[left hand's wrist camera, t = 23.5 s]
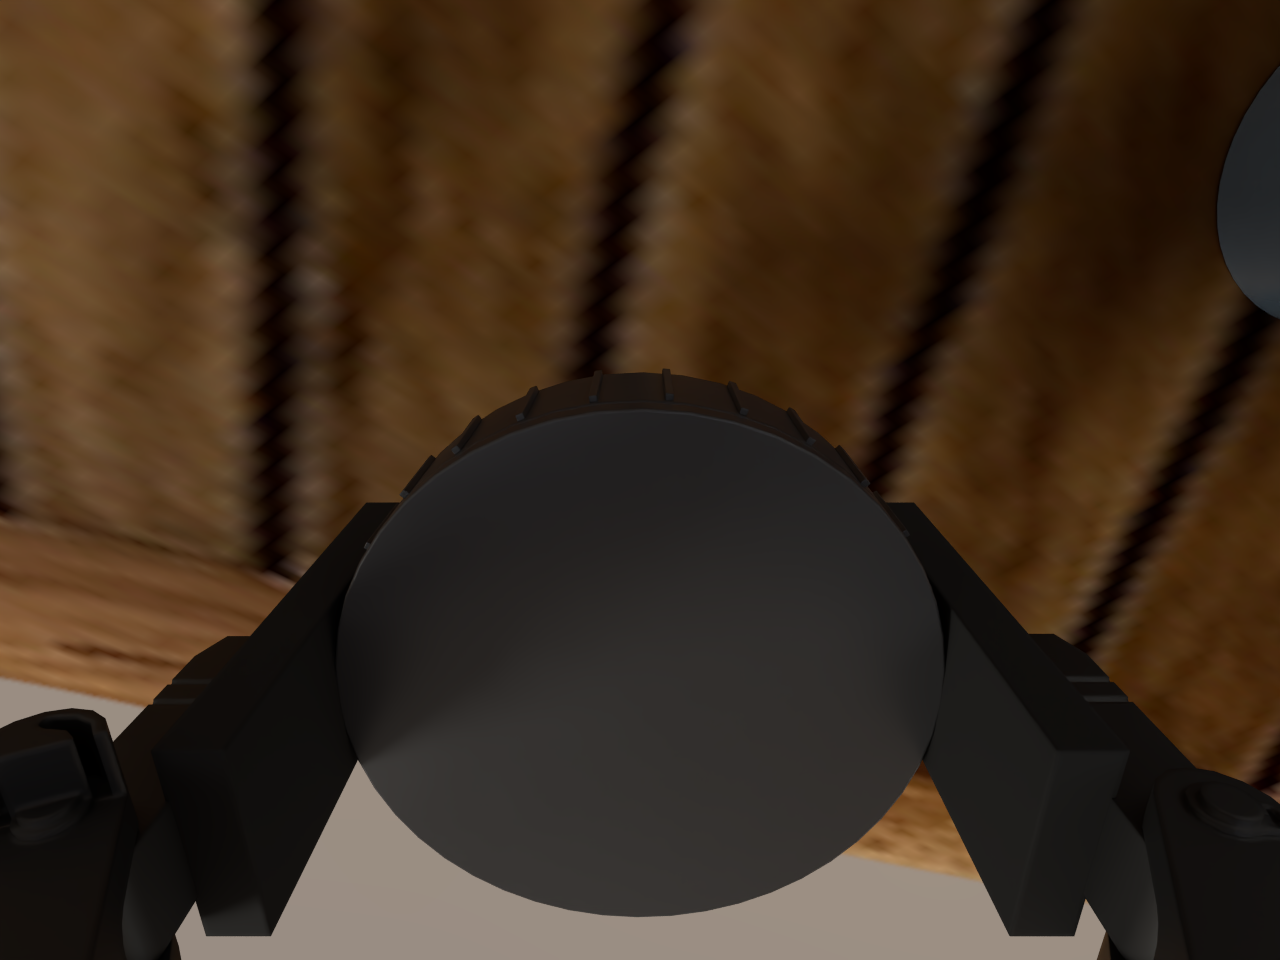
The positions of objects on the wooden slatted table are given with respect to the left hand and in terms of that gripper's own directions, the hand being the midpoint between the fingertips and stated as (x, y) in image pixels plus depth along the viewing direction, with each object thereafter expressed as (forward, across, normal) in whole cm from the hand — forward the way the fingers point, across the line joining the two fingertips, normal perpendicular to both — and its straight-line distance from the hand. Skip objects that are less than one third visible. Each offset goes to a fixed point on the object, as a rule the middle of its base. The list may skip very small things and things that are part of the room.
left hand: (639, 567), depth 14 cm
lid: (-4, 0, 0) cm, 4 cm away
